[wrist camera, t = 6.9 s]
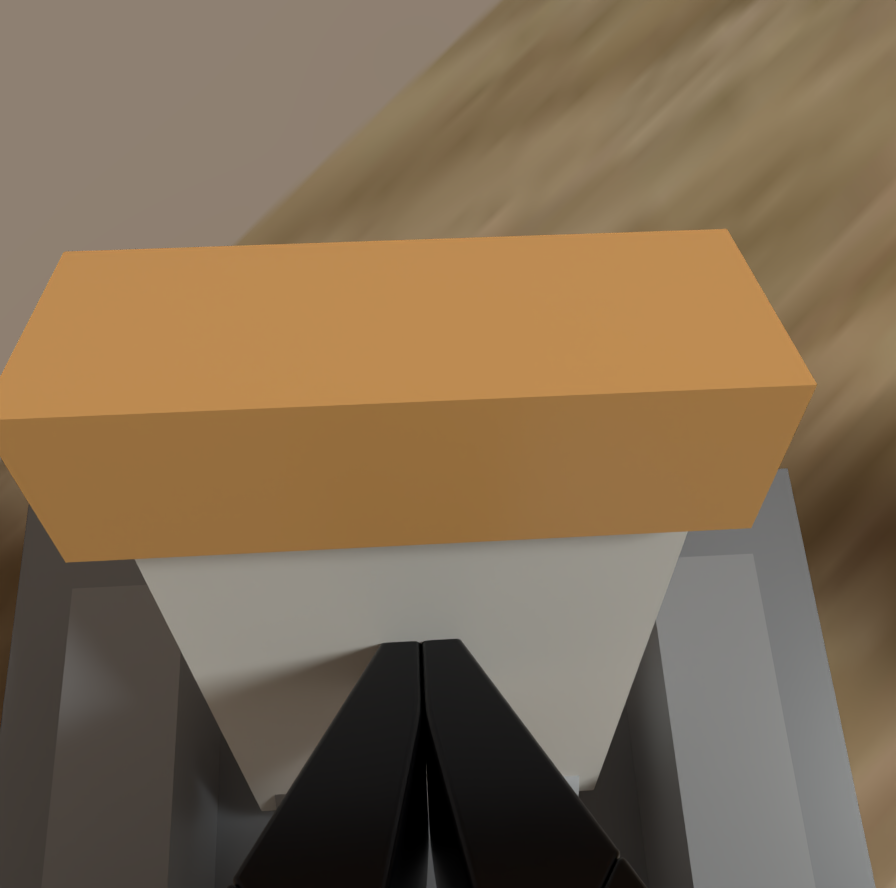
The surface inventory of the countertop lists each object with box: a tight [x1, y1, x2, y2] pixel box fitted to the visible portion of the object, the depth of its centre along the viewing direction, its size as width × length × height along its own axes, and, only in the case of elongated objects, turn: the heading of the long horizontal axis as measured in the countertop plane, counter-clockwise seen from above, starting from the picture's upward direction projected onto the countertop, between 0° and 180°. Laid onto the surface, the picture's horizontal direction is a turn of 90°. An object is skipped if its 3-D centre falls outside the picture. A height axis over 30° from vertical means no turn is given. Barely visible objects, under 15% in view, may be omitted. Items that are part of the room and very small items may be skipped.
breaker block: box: [0, 469, 875, 888], centre depth 14 cm, size 10×14×7 cm
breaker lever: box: [0, 229, 817, 815], centre depth 9 cm, size 2×6×9 cm, turn 93°
